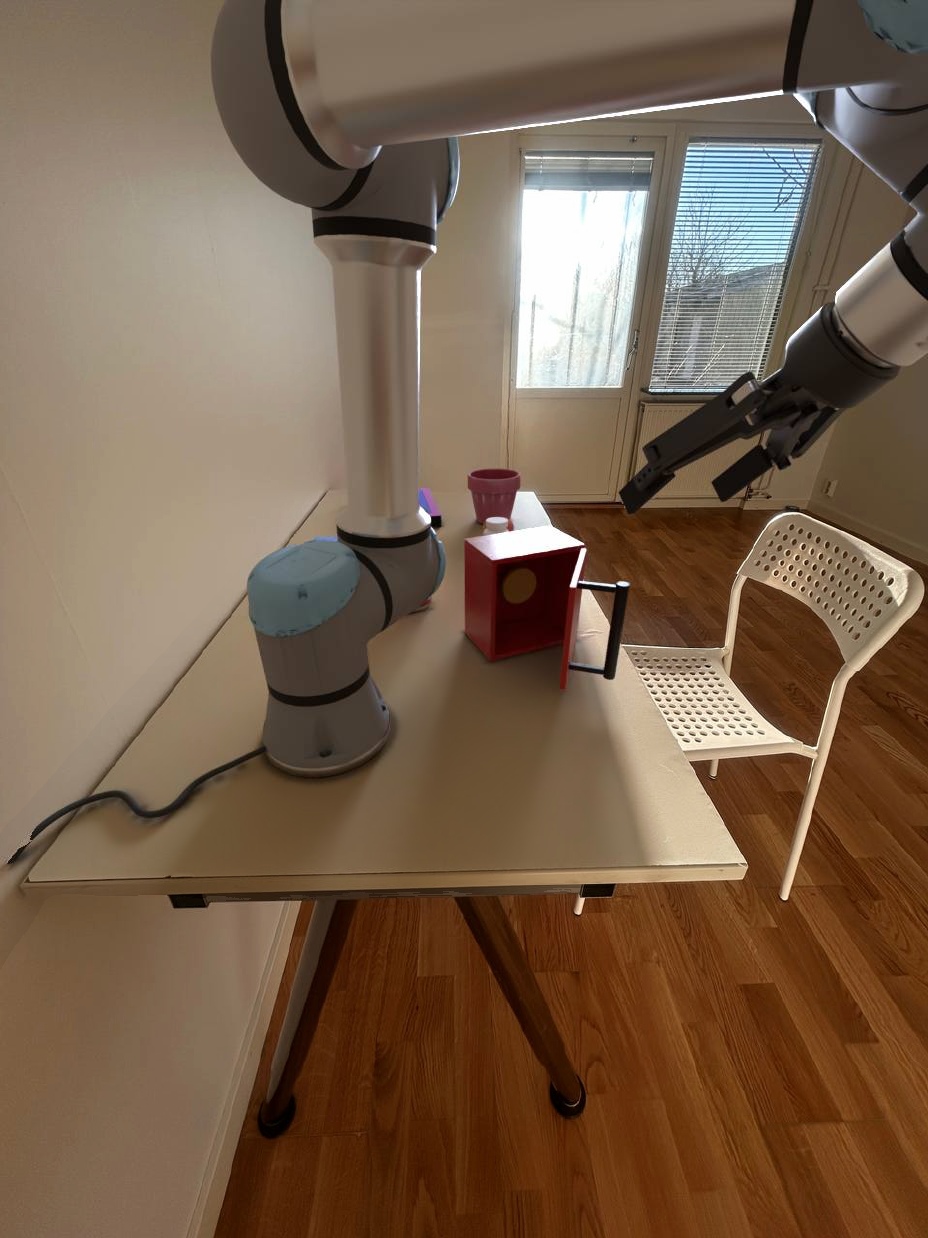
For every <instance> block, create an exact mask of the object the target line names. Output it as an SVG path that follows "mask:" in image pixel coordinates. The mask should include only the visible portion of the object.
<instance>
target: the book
mask: <svg viewBox="0 0 928 1238" xmlns="http://www.w3.org/2000/svg"><path fill="white" fill-rule="evenodd" d="M419 505H420V507H423V508H426V509H427V511H428V515H429V516H430V518H431V528H440V527H442V514H441V512H440V510H439V508H438V505H437V504H436V502H435V500H434V498H433V495H432V493H431V490H430V489H429V487H419Z"/></svg>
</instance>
